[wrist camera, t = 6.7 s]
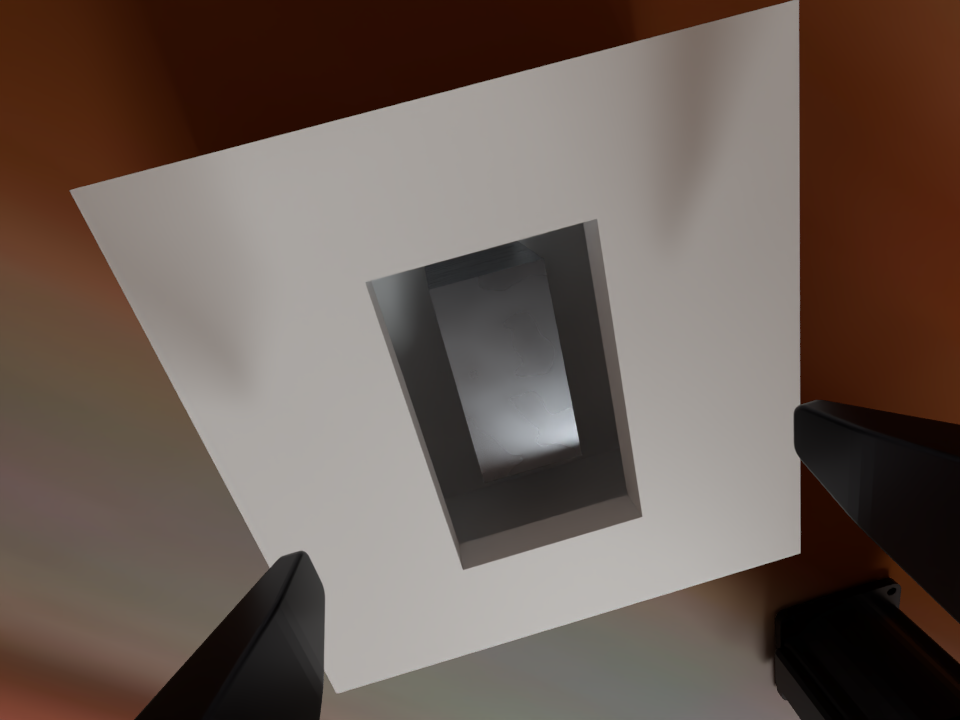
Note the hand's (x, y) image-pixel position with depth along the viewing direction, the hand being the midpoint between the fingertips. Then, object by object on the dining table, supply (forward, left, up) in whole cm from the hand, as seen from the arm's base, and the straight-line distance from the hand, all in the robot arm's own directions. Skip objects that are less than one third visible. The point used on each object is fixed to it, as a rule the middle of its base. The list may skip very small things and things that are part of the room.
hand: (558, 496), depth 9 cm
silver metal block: (0, 0, -9) cm, 9 cm away
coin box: (0, 0, -10) cm, 10 cm away
